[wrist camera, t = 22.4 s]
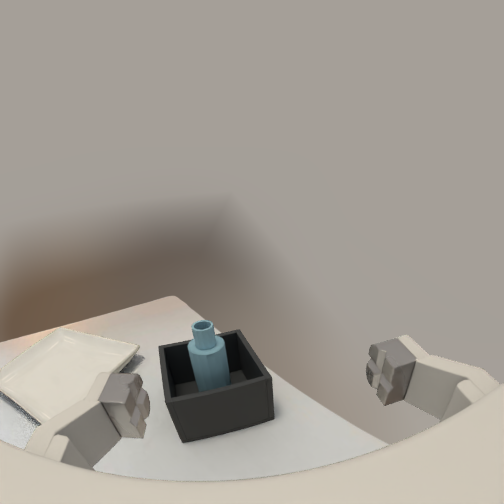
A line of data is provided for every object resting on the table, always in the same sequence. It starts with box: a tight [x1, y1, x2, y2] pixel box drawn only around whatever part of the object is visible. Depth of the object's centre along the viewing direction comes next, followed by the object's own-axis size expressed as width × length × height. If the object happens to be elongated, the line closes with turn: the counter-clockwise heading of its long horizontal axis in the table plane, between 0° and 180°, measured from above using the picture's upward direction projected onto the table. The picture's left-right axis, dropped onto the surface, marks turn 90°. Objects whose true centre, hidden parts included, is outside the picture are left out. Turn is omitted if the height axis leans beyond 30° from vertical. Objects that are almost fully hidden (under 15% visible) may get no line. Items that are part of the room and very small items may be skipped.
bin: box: [158, 330, 274, 443], centre depth 38 cm, size 14×14×9 cm
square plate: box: [0, 327, 140, 424], centre depth 42 cm, size 27×27×4 cm
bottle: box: [187, 320, 232, 392], centre depth 37 cm, size 5×5×14 cm
